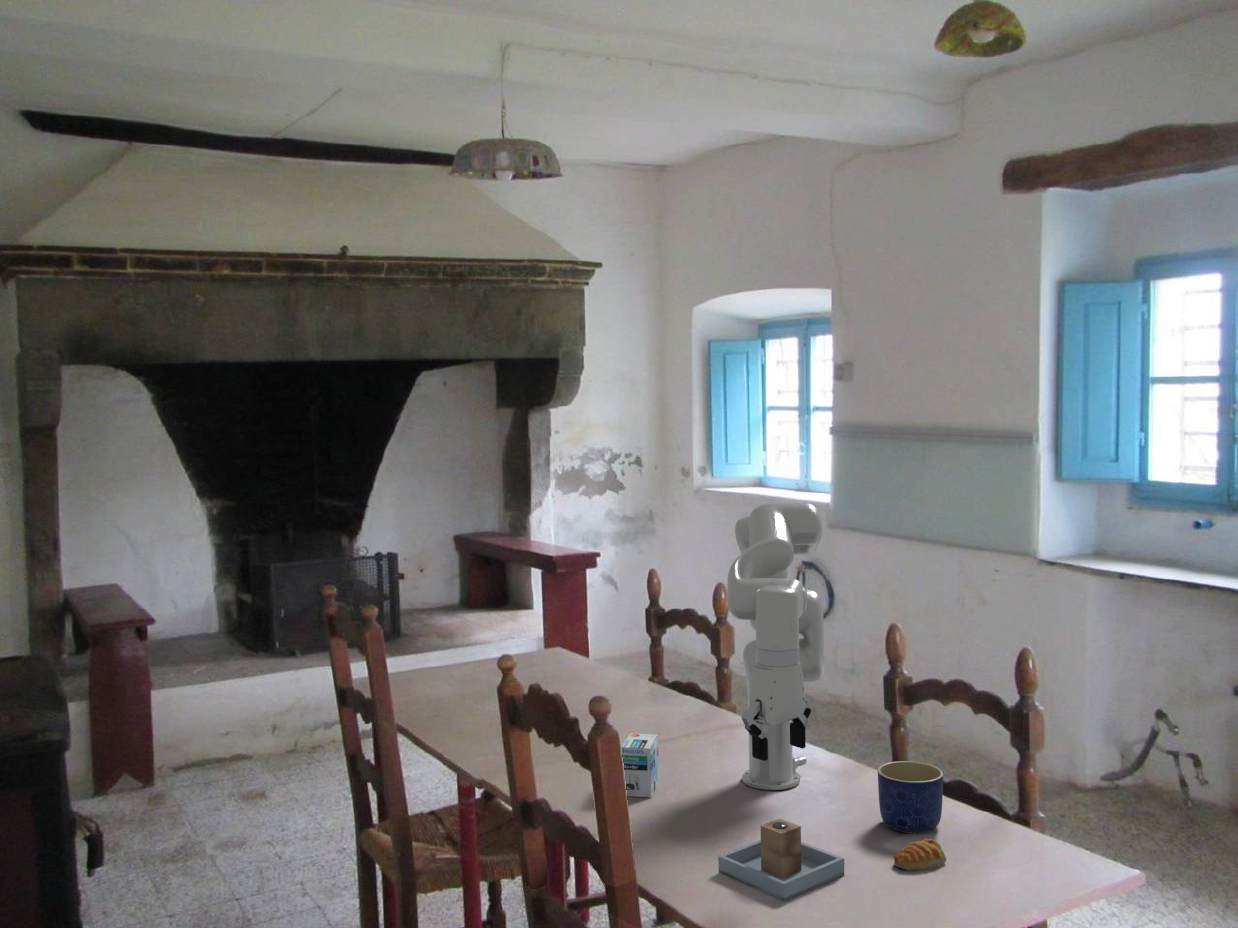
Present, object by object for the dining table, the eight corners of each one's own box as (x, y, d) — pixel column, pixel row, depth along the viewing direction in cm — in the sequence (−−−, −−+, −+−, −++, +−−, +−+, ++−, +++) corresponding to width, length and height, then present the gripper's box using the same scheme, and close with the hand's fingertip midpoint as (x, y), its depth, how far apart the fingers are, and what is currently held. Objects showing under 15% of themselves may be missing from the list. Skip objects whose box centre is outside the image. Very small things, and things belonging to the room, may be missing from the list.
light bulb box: (652, 798, 236) (650, 748, 235) (620, 796, 237) (619, 747, 237) (660, 781, 247) (659, 733, 246) (630, 779, 248) (629, 732, 247)
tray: (778, 848, 208) (778, 832, 208) (844, 874, 196) (844, 858, 196) (718, 872, 198) (718, 855, 198) (784, 901, 186) (783, 883, 186)
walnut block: (780, 861, 201) (779, 817, 200) (801, 870, 197) (800, 824, 196) (761, 869, 197) (760, 824, 197) (782, 878, 194) (781, 832, 193)
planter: (868, 830, 216) (867, 774, 215) (891, 809, 226) (890, 757, 226) (931, 843, 209) (930, 786, 208) (952, 821, 219) (951, 767, 219)
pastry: (911, 877, 195) (911, 855, 195) (884, 864, 201) (883, 843, 200) (949, 864, 200) (949, 843, 199) (921, 852, 205) (921, 832, 205)
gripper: (794, 645, 203) (796, 737, 204) (727, 661, 192) (729, 758, 193) (826, 652, 197) (827, 746, 198) (759, 669, 187) (760, 769, 188)
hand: (779, 752), depth 196 cm, fingers open, 9 cm apart
